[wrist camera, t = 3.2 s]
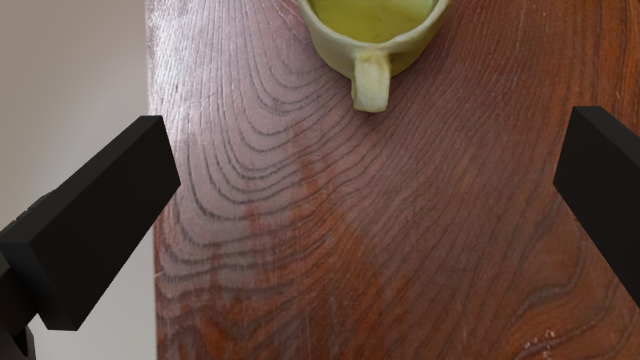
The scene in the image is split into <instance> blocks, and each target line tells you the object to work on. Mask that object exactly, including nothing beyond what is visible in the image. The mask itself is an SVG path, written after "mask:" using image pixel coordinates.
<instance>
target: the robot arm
mask: <svg viewBox="0 0 640 360" xmlns="http://www.w3.org/2000/svg"><path fill="white" fill-rule="evenodd" d="M180 185H181V182H180V178H179V175H178V171H177V168H176V164H175V160H174V157H173V153H172V150H171V146H170V142H169V139H168V135H167V132H166V128H165V124H164V121H163V117H162V115H154V116H140V117H139V118H138V119H137V120H135V121H134V122H133V123H132V124H131V125H129V126H128V127H127V128H126V129H125V130H124V131H123V132H121V133H120V134H119V135H118V136H117V137H116V138H114V139H113V140H112V141H111V142H110V143H109V144H108V145H106V146H105V147H104V148H103V149H102V150H101V151H99V152H98V153H97V154H96V155H95V156H94V157H92V158H91V159H90V160H89V161H88V162H87V163H85V164H84V165H83V166H82V167H81V168H80V169H79V170H77V171H76V172H75V173H74V174H73V175H72V176H71V177H69V178H68V179H67V180H66V181H65V182H64V183H62V184H61V185H60V186H59V187H58V188H57V189H55V190H53V191H51V192H49V193H47V194H46V195H44V196H42V197H40V198H39V199H38V200H37V201H36V202H35V203H33V204H32V205H31V206H30V207H29V208H28V210H27V211H24V212H23V213H22V214H21V215H19V216H18V217H17V218H16V219H17V220H16V221H15V220H14V221H12V222H11V223H10V224H9V225H8V226H7V227H5V228H4V229H3V230H2V231H0V360H36V355H35V346H34V338H33V334H32V333H31V330H30V329H29V327H28V326H27V325H28V323H29V322H30V321H31V320H32V319H33V318H34V316H35V315H36V314H37V313H38V314H39V316H40V318H41V319H42V321H43V322H44V324H45V326H46V328H47V329H48V330H65V331H77V330H78V329H79V327H80V326H81V325H82V323H83V322H84V320H85V319H86V317H87V316H88V315H89V313H90V312H91V311H92V309H93V308H94V306H95V305H96V303H97V302H98V300H99V299H100V298H101V296H102V295H103V294H104V292H105V291H106V289H107V288H108V287H109V285H110V284H111V282H112V281H113V279H114V278H115V276H116V275H117V274H118V272H119V271H120V270H121V268H122V267H123V265H124V264H125V262H126V261H127V260H128V258H129V257H130V255H131V254H132V253H133V251H134V250H135V248H136V247H137V246H138V244H139V243H140V241H141V240H142V238H143V237H144V236H145V234H146V233H147V231H148V230H149V229H150V227H151V226H152V224H153V223H154V222H155V220H156V219H157V217H158V216H159V215H160V213H161V212H162V210H163V209H164V207H165V206H166V205H167V203H168V202H169V200H170V199H171V198H172V196H173V195H174V193H175V192H176V191H177V189H178V188H179V186H180ZM553 185H554V186H555V188H556V189H557V190H558V192H559V193H560V195H561V196H562V198H563V199H564V201H565V202H566V203H567V205H568V206H569V208H570V209H571V211H572V212H573V213H574V215H575V216H576V218H577V219H578V221H579V222H580V224H581V225H582V226H583V228H584V229H585V231H586V232H587V234H588V235H589V237H590V238H591V239H592V241H593V242H594V244H595V245H596V247H597V248H598V250H599V251H600V252H601V254H602V255H603V257H604V258H605V260H606V261H607V263H608V264H609V265H610V267H611V268H612V270H613V271H614V273H615V274H616V276H617V277H618V278H619V280H620V281H621V283H622V284H623V286H624V287H625V288H626V290H627V291H628V293H629V294H630V296H631V297H632V299H633V300H634V301H635V303H636V304H637V306H638V307H639V309H640V138H639V137H638V136H637V135H635V134H634V133H633V132H632V131H631V130H629V129H628V128H627V127H626V126H624V125H623V124H622V123H621V122H619V121H618V120H617V119H616V118H615V117H613V116H612V115H611V114H610V113H608V112H607V111H606V110H605V109H603V108H602V107H601V106H573V108H572V112H571V116H570V120H569V124H568V127H567V131H566V135H565V139H564V142H563V146H562V150H561V154H560V158H559V161H558V165H557V169H556V173H555V177H554V180H553Z"/></svg>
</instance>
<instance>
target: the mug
mask: <svg viewBox="0 0 640 360" xmlns="http://www.w3.org/2000/svg"><path fill="white" fill-rule="evenodd" d="M452 3H453V0H297V4H298V6H299V9H300V12H301V14H302V16H303V18H304V21H305V23H306V24H307V26H308V28H309V30H310V34H311V38H312V41H313V44H314V46H315V49H316V51H317V52H318V54H319V55H320V57H321V58H322V59H323V60H324V61H325V62H326V63H327V64H328V65H329V66H330V67H331V68H332V69H334V70H335V71H337V72H339V73H341V74H342V75H344V76H345V77H347V78H349V79H351V81H352V91H351V94H352V99H353V101H354V108H355V109H357V110H360V111H366V112H381V111H385V110H386V109H387V104H388V97H389V88H390V81H391V77H392V76H394V75H396V74H398V73H400V72H401V71H403V70H404V69H406V68H407V67H408V66H410V65H411V64H412V63H413V62H414V61H415V60H416V59H417V58H418V57H419V56H420V55H421V53H422V52H423V51H424V49H425V48H426V47H427V45H428V44H429V42H430V41H431V40H432V38H433V37H434V35H435V34H436V33H437V31H438V30H439V29H440V27H441V26H442V24H443V22H444V21H445V19H446V17H447V15H448V13H449V11H450V8H451V6H452Z"/></svg>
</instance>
